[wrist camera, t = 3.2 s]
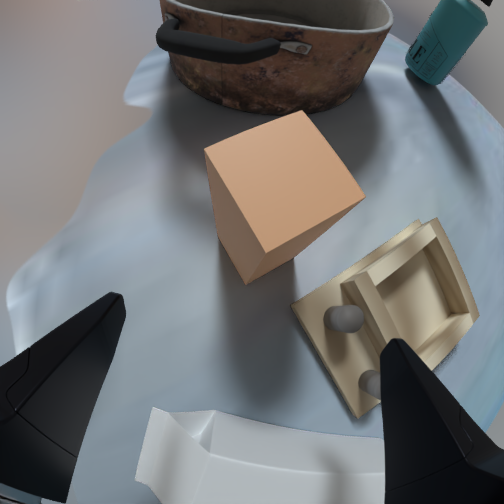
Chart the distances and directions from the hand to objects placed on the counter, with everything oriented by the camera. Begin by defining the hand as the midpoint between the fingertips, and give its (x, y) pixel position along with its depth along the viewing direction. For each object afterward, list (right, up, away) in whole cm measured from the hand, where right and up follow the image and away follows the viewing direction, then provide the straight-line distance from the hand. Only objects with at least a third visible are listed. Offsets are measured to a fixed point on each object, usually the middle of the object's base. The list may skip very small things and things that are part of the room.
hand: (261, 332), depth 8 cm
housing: (+11, -3, +12) cm, 17 cm away
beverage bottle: (+23, +28, +20) cm, 41 cm away
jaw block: (0, +3, +13) cm, 13 cm away
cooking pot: (+1, +26, +18) cm, 31 cm away
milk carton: (+11, -17, +6) cm, 21 cm away
